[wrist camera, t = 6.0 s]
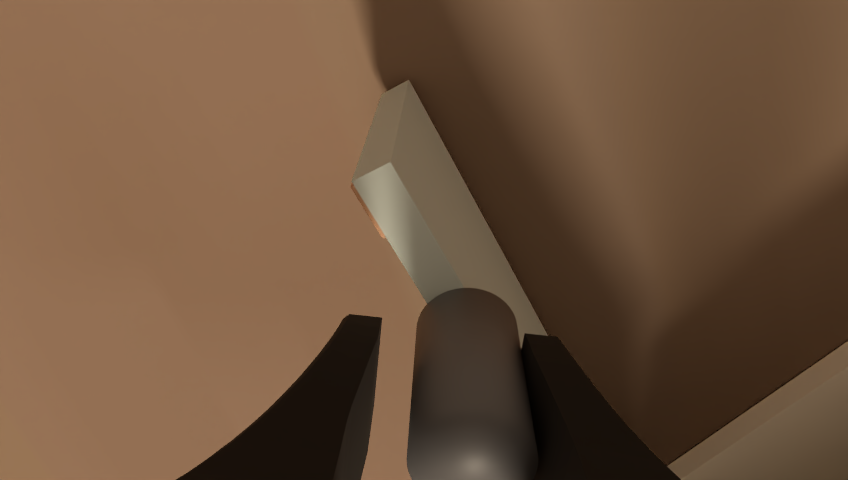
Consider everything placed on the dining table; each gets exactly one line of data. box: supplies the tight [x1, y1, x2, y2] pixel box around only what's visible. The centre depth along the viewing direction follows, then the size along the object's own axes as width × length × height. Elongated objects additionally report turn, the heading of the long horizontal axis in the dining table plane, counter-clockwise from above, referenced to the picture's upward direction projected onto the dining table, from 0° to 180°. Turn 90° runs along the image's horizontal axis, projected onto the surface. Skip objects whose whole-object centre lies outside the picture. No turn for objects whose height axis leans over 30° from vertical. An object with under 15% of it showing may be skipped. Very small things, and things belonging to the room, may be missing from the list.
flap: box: [351, 80, 548, 480], centre depth 16 cm, size 16×2×10 cm, turn 28°
